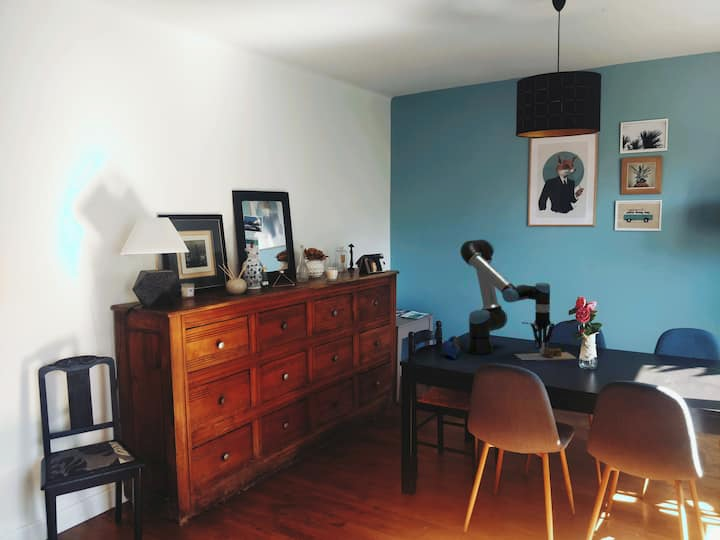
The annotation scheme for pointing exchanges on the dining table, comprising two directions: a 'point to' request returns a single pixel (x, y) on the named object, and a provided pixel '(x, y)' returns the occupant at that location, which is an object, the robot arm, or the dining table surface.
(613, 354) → the dining table surface
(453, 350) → the toy
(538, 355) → the mat
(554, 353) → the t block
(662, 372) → the dining table surface
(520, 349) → the dining table surface
